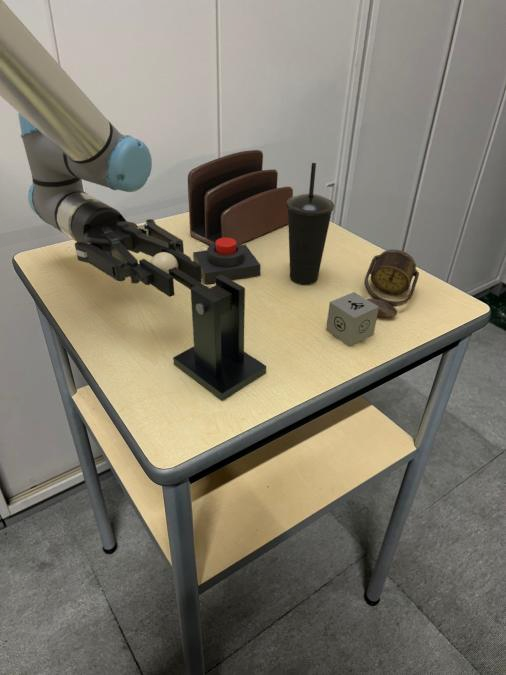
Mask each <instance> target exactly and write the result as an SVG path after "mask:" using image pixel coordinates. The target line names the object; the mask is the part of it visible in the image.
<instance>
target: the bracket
mask: <svg viewBox="0 0 506 675" xmlns="http://www.w3.org/2000/svg"><path fill="white" fill-rule="evenodd" d="M215 280H216V283H215V285H219V286H220V287H222V288H224V289H225V290H227V291H229V292H230V293H232V310H230V311H228V312H226V313H224V314H222V315H221V306H220V299H219V298H217V297H215V296H213V295H212V294H210V293H208V292H207V291H205V290H203V289H202V288H200V287H198V286H194V287H192V288H191V290H190V300H191V301H190V302H191V319H192V320H191V321H192V336H193V337H192V338H193V346H192V347H190V348H188V349H186V350H184V351H182V352H180V353H178V354H177V355H175V356H173V357H172V359H173V360H172V361H173V365H174V366H176V368H178V369H179V370H180V371H182V372H184V373H185V374H186V375H187V376H189V377H190V378H191V379H193V380H194V381H195V382H197V383H198V384H199V385H201V387H203V388H204V389H206V390H207V391H208V392H210V393H211V394H212V395H214V397H216V398H218V399H219V400H220V401H224V400H226V399H228V398H229V397H231V396H232V395H234V394H236V393H237V392H238V391H240V390H242V389H244V387H246V386H248V385H249V384H251V383H253V382H254V381H256V380H257V379H259V378H261V377H262V376H263V375H265V374H266V373H267V365H266V364H264V363H263V362H262V361H260V360H258V359H256V358H255V357H253V356H252V355H250V354H248V353H247V352H246V351H245V316H246V314H245V312H246V309H245V308H246V307H245V306H246V304H245V303H246V287H244V286H242V285H241V284H239V283H237V282H236V281H235V280H230V279H228V278H227V277H225V276H223V275H219V276H217V277H215Z"/></svg>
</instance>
